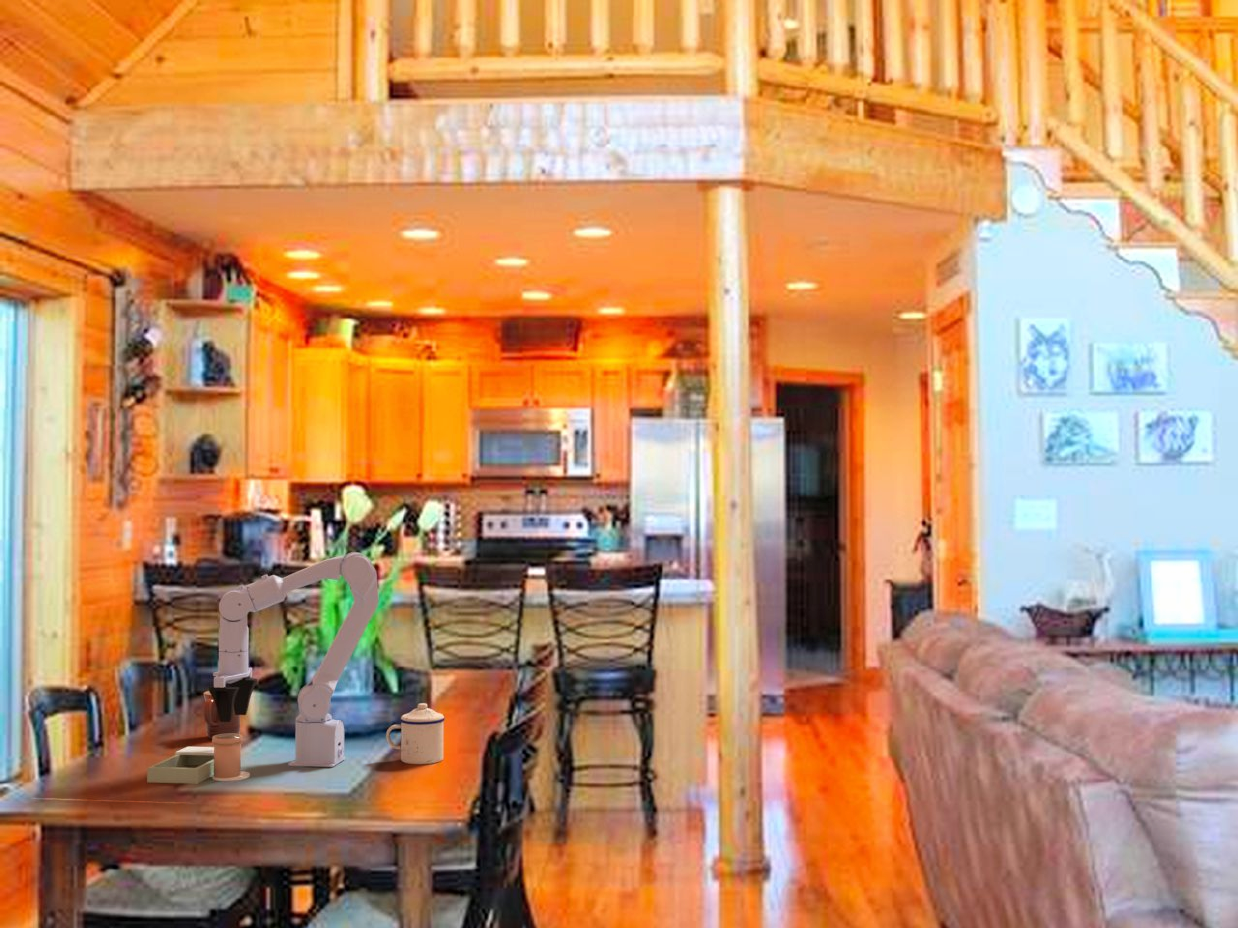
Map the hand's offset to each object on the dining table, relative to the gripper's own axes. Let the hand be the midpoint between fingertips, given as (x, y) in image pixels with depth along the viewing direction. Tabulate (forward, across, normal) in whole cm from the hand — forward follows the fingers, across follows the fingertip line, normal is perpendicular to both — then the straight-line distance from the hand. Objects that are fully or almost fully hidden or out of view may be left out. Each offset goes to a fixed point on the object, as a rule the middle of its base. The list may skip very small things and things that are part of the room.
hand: (233, 718), depth 249 cm
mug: (+10, -28, -15) cm, 33 cm away
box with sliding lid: (+10, +7, -6) cm, 13 cm away
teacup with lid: (+10, -10, +35) cm, 38 cm away
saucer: (+10, +9, +4) cm, 14 cm away
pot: (+9, +9, +3) cm, 13 cm away
